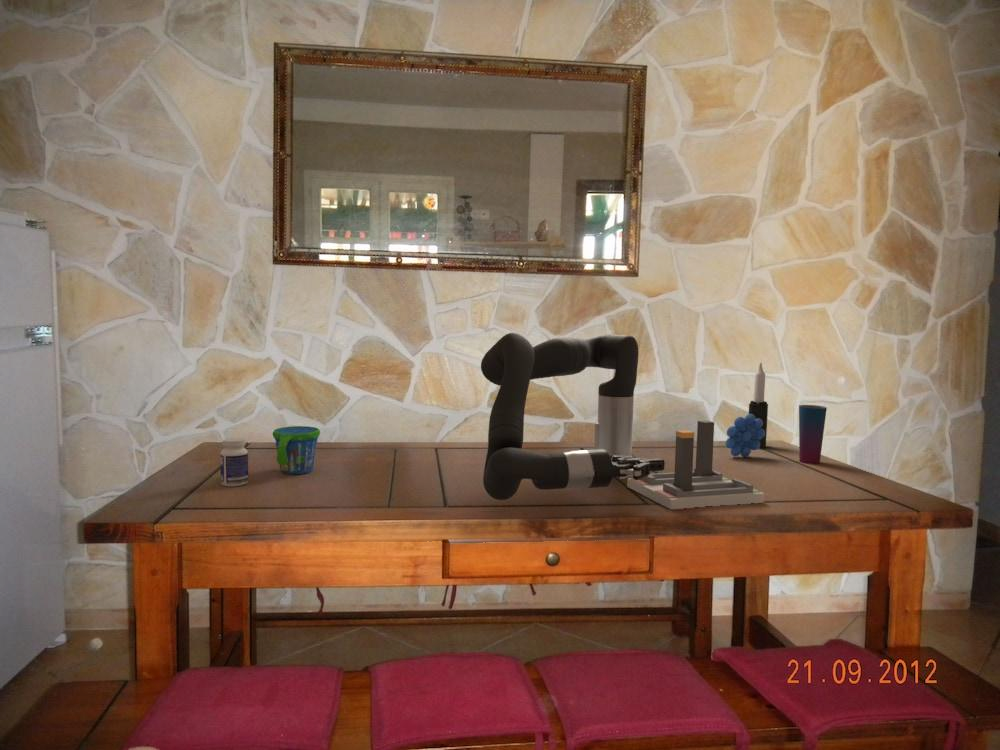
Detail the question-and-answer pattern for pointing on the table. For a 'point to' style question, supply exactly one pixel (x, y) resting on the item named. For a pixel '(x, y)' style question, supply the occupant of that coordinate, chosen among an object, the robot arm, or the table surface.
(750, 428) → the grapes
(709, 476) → the panel
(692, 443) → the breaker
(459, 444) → the table surface
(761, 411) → the candle
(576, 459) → the robot arm
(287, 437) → the snack cup
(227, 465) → the pill bottle
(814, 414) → the cup
